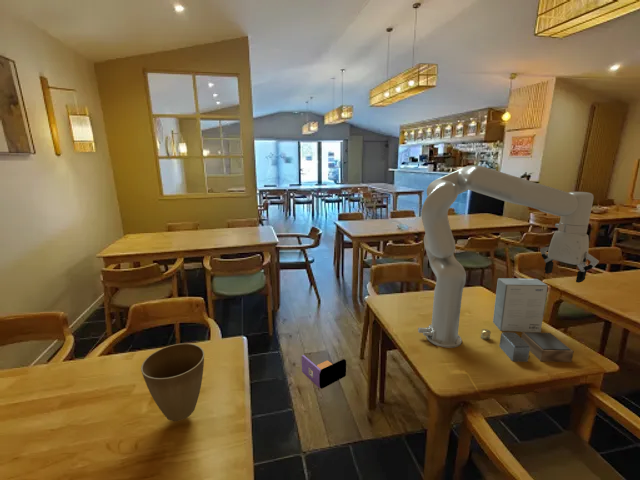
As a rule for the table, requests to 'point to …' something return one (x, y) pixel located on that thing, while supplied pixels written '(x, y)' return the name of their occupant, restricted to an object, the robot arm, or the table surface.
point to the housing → (514, 347)
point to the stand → (547, 347)
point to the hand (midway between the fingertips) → (563, 277)
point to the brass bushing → (485, 334)
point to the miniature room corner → (323, 371)
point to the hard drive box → (519, 304)
